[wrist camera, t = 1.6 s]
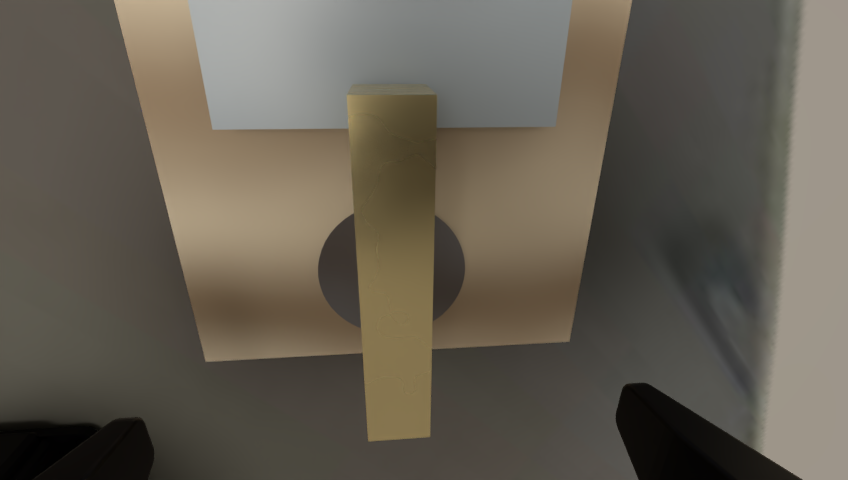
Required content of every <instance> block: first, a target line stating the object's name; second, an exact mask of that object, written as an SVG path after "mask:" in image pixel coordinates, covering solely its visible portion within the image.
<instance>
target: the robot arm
mask: <svg viewBox="0 0 848 480" xmlns="http://www.w3.org/2000/svg"><path fill="white" fill-rule="evenodd" d="M616 423H617V427H618V430H619V432H620V435H621V437H622V440H623V442H624V445H625V447H626V450H627V452H628V454H629V457H630V459H631V462H632V464H633V467H634V469H635V472H636V474H637V477H638V479H639V480H802V479H800V478H799V477H797V476H796V475H794V474H793V473H791V472H789V471H788V470H786V469H784V468H783V467H781V466H780V465H778V464H776V463H775V462H773V461H772V460H770V459H768V458H767V457H765V456H764V455H762V454H760V453H759V452H757V451H756V450H754V449H752V448H751V447H749V446H748V445H746V444H744V443H743V442H741V441H739V440H738V439H736V438H735V437H733V436H731V435H730V434H728V433H727V432H725V431H723V430H722V429H720V428H719V427H717V426H715V425H714V424H712V423H710V422H709V421H707V420H706V419H704V418H702V417H701V416H699V415H698V414H696V413H694V412H693V411H691V410H690V409H688V408H686V407H685V406H683V405H682V404H680V403H678V402H677V401H675V400H673V399H672V398H670V397H669V396H667V395H665V394H664V393H662V392H661V391H659V390H657V389H656V388H654V387H653V386H651V385H649V384H647V383H630V384H626V385H625V386H624V387H623V389H622V392H621V396H620V400H619V404H618V408H617V411H616ZM153 461H154V448H153V445H152V442H151V439H150V436H149V434H148V431H147V428H146V425H145V422H144V421H143V420H142V419H141V418H138V417H133V418H119V419H115V420H113V421H112V422H110V423H109V424H107V425H106V426H105V427H103V428H102V429H100V430H99V431H97V430H95V429H94V428H91V427H87V426H80V427H65V428H50V429H35V430H20V431H5V432H0V480H148V477H149V474H150V471H151V468H152V465H153Z"/></svg>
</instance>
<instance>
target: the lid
mask: <svg viewBox="0 0 848 480" xmlns="http://www.w3.org/2000/svg"><path fill="white" fill-rule="evenodd" d="M188 4H189V9H190V15H191V20H192V25H193V30H194V35H195V41H196V46H197V51H198V56H199V62H200V67H201V72H202V77H203V82H204V88H205V93H206V98H207V103H208V108H209V114H210V119H211V124H212V129H213V130H233V129H349V125H348V109H347V93H348V92H349V90H350V88H351V86H352V84H426V85H427V86H428V87H429V88H431V89H432V90H433V91H434V92H435V93H436V94H437V128H464V127H556V120H557V112H558V105H559V97H560V90H561V82H562V75H563V67H564V60H565V52H566V45H567V37H568V30H569V22H570V15H571V7H572V0H188Z"/></svg>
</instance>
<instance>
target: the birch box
mask: <svg viewBox="0 0 848 480" xmlns="http://www.w3.org/2000/svg"><path fill="white" fill-rule="evenodd" d="M114 2H115V6H116V10H117V14H118V18H119V22H120V26H121V29H122V33H123V37H124V41H125V45H126V49H127V53H128V57H129V61H130V65H131V69H132V73H133V77H134V81H135V85H136V89H137V93H138V96H139V100H140V104H141V108H142V112H143V116H144V120H145V124H146V128H147V132H148V136H149V140H150V144H151V148H152V152H153V156H154V159H155V163H156V167H157V171H158V175H159V179H160V183H161V187H162V191H163V195H164V199H165V203H166V207H167V211H168V215H169V219H170V223H171V226H172V230H173V234H174V238H175V242H176V246H177V250H178V254H179V258H180V262H181V266H182V270H183V274H184V278H185V282H186V286H187V289H188V293H189V297H190V301H191V305H192V309H193V313H194V317H195V321H196V325H197V329H198V333H199V337H200V341H201V345H202V349H203V353H204V356H205V360H206V362H212V361H230V360H248V359H266V358H284V357H302V356H320V355H338V354H356V353H363V350H362V334H361V318H360V302H359V286H358V270H357V254H356V238H355V222H354V206H353V190H352V173H351V157H350V141H349V129H233V130H213V129H212V124H211V119H210V114H209V108H208V103H207V98H206V93H205V88H204V82H203V77H202V72H201V67H200V62H199V56H198V51H197V46H196V41H195V35H194V30H193V25H192V20H191V15H190V9H189V4H188V0H114ZM631 4H632V0H572V7H571V15H570V22H569V30H568V37H567V45H566V52H565V60H564V67H563V75H562V82H561V90H560V97H559V105H558V112H557V120H556V127H464V128H437V133H436V180H435V228H434V275H433V323H432V349H446V348H464V347H482V346H500V345H518V344H536V343H554V342H569V341H570V335H571V330H572V324H573V319H574V314H575V308H576V303H577V297H578V292H579V286H580V281H581V276H582V270H583V265H584V259H585V254H586V248H587V243H588V237H589V232H590V227H591V221H592V216H593V210H594V205H595V199H596V194H597V189H598V183H599V178H600V172H601V167H602V161H603V156H604V151H605V145H606V140H607V134H608V129H609V123H610V118H611V113H612V107H613V102H614V96H615V91H616V85H617V80H618V75H619V69H620V64H621V58H622V53H623V47H624V42H625V37H626V31H627V26H628V20H629V15H630V9H631Z"/></svg>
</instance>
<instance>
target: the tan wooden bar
mask: <svg viewBox="0 0 848 480" xmlns="http://www.w3.org/2000/svg"><path fill="white" fill-rule="evenodd" d="M347 109H348V125H349V141H350V157H351V173H352V190H353V206H354V222H355V238H356V254H357V270H358V286H359V302H360V318H361V334H362V350H363V366H364V382H365V398H366V414H367V430H368V441H382V440H395V439H409V438H422V437H430V418H431V370H432V323H433V275H434V228H435V180H436V133H437V94H436V93H435V92H434V91H433V90H432V89H431V88H429V87H428V86H427V85H426V84H352V86H351V88H350V90H349V92H348V93H347Z"/></svg>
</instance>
